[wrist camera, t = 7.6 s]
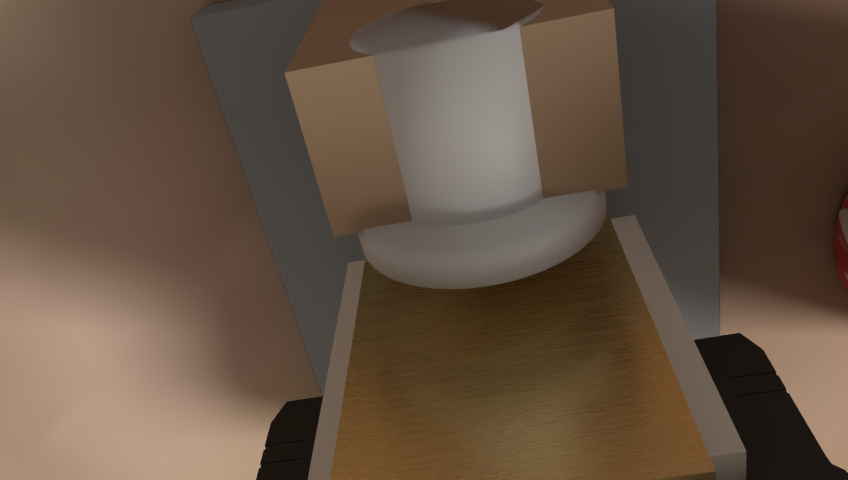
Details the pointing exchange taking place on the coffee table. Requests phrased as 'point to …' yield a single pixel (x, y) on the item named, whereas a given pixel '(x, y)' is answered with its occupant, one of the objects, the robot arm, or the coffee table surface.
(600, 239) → the coupler
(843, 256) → the mug
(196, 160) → the coffee table surface
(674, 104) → the shaft bench
